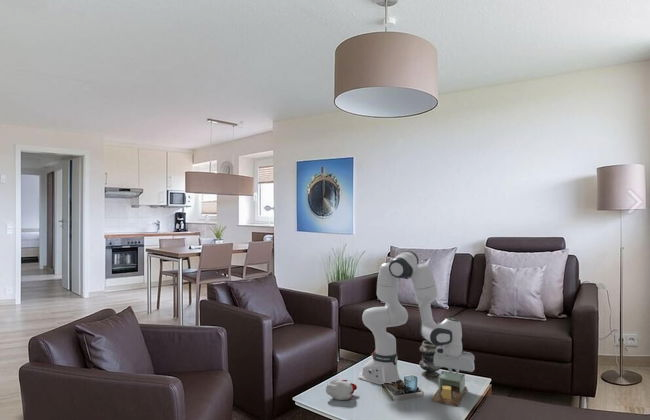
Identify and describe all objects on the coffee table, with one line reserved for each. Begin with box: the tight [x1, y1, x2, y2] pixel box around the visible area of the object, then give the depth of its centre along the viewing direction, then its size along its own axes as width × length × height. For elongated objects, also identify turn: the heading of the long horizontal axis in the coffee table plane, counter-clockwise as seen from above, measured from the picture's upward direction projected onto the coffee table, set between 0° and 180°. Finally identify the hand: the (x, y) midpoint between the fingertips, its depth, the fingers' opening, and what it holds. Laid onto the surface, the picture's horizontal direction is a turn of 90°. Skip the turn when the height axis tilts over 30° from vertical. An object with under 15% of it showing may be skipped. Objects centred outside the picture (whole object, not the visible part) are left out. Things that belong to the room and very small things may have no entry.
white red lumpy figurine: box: [325, 378, 358, 401], centre depth 205 cm, size 9×11×15 cm
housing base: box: [431, 384, 467, 407], centre depth 206 cm, size 12×22×4 cm, turn 151°
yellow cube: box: [442, 386, 451, 399], centre depth 201 cm, size 4×4×4 cm
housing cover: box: [437, 370, 466, 393], centre depth 210 cm, size 11×9×6 cm
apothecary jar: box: [419, 339, 442, 379], centre depth 233 cm, size 12×12×18 cm
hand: (453, 377), depth 215 cm, fingers closed
